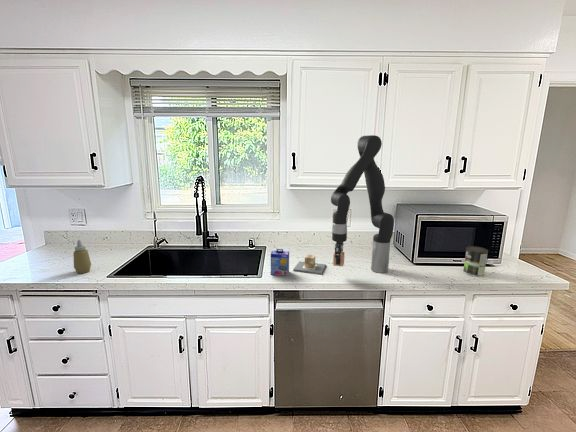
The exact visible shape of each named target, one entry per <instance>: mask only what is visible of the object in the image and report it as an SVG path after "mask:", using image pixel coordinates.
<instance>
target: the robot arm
mask: <svg viewBox="0 0 576 432" xmlns="http://www.w3.org/2000/svg"><path fill="white" fill-rule="evenodd" d="M382 145H383V142H382V139H381V137H380V136H378V135H372V134H371V135H362V136H360V137H359V138H358V141H357V151H358V154H359V158H358V160H357V161H356V162H355V163H354V164H353V165H352V166H351V167H350V168H349V170H347V172H346V173H345V176H344V177H343V179H342V181H341V182H340V184H339V185H338V186H337V187H336V188H335V190H334V191H333V192H332V193H331V196H330V203H331V204H332V205H333V206H335V207H337V209H336V210H335V211H334V212H333V214H332V227H331V231H332V232H331V240H332V242H333V241H334V242H335V244H334V253H335V258H336V265H340V258H341V253H342V252H344V242H346V241H347V238H348V223H347V222H348V217H347V216H348V213H349V210H350V206H351V198H350V196H349V195H348V194H349V193H350V192H353V191H354V189H355V188H356V186H357V184H358V183H359V181H360V179H361V178H362V175H363V174H364V179H365V186H366V190H367V195H368V201H369V206H370V220H371V223H372V225H373V226H374V227H375V228H377V229H378V233H376V234H373V239H372V249H371V250H372V252H371V266H370V270H371V271H372V272H374V273H377V272H378V273H379V274H385V273H389V266H390V265H389V264H390V250H391V240H392V238H393V236H394V235H393V233H394V227H395V219H394V216H393V215H392V214H391V213H388V212H385V211H384V208H383V198H384V195H385V192H386V191H385V190H386V185H385V184H386V183H385V178H384V175H383V173H382V171H381V170H380V168H379V166H378V165H377V162H376V160H375V157H376V156H377V155H378V153H379V152H380V150H381V149H382ZM337 254H339V256H337Z"/></svg>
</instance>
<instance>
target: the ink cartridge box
mask: <svg viewBox="0 0 576 432" xmlns="http://www.w3.org/2000/svg"><path fill="white" fill-rule="evenodd" d="M289 273H290V251H287V250H284V249H283V248H282V249H281V248H276V250H271V251H270V275H273V276H289Z"/></svg>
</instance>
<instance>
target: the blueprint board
mask: <svg viewBox="0 0 576 432" xmlns="http://www.w3.org/2000/svg"><path fill="white" fill-rule="evenodd" d="M326 267H327V264H326V263H318V262H317V263H316V262H315V267H314V268H313V269H312V268H305V261H300V260H299V261H298V262H297V264H296V265H295V267H293V269H292V271H293V272H299V273H305V274H306V273H308V274H314V275H315V274H316V275H322V274H323V272H324V271H325V268H326Z"/></svg>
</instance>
